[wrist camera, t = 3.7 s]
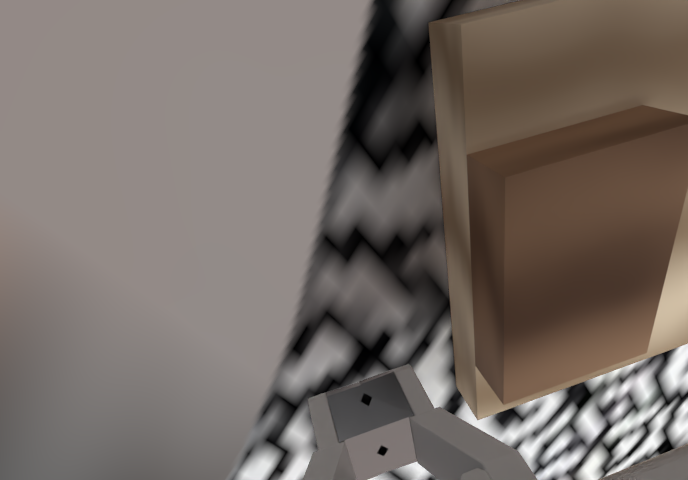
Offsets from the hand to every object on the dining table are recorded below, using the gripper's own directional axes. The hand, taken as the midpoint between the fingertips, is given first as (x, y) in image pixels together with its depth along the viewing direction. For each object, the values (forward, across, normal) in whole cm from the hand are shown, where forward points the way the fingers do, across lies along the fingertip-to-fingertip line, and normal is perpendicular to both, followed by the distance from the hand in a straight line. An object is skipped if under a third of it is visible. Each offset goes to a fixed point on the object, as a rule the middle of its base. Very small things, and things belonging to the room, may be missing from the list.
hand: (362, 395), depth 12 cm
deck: (+5, -10, 0) cm, 12 cm away
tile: (+3, -8, 0) cm, 9 cm away
